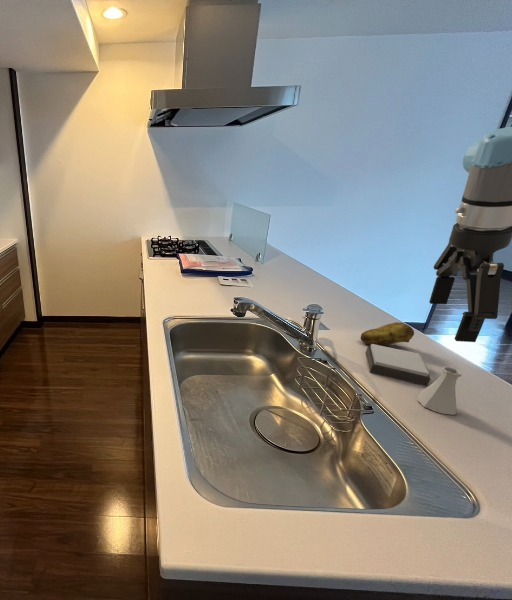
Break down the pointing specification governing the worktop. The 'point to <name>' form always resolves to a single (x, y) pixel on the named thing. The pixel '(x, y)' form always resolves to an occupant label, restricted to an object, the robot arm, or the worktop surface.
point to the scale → (397, 364)
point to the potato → (388, 334)
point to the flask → (441, 392)
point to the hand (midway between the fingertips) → (450, 320)
